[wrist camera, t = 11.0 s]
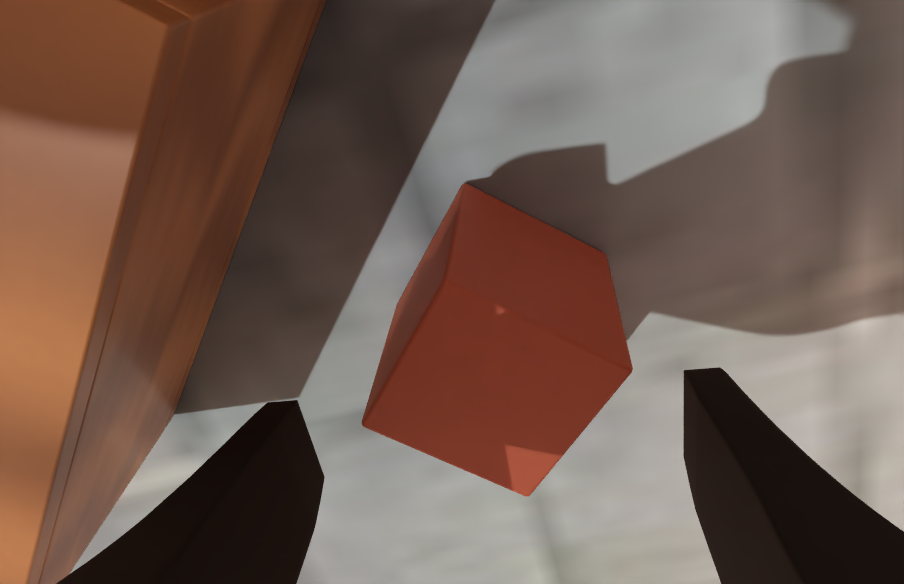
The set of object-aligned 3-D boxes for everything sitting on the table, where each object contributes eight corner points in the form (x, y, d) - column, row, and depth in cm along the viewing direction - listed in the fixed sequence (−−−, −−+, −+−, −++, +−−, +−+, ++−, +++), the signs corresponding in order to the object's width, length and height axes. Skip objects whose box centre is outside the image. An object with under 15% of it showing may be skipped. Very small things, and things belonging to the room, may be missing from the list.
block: (395, 305, 18) (359, 427, 14) (463, 180, 16) (444, 280, 12) (526, 366, 19) (528, 500, 15) (607, 253, 17) (634, 370, 13)
